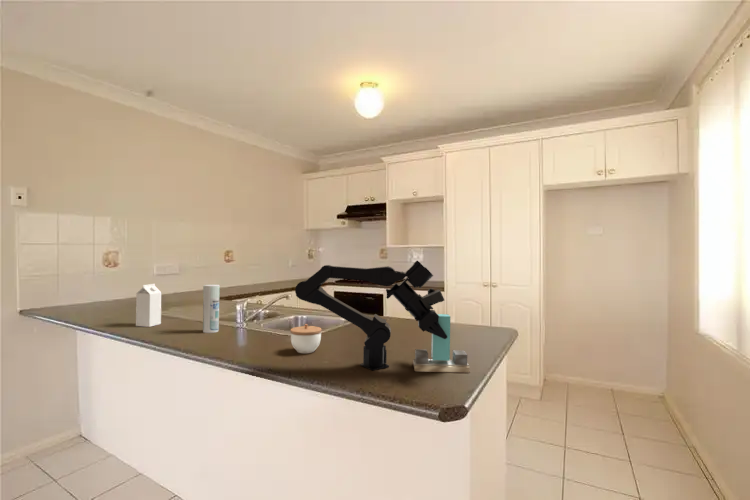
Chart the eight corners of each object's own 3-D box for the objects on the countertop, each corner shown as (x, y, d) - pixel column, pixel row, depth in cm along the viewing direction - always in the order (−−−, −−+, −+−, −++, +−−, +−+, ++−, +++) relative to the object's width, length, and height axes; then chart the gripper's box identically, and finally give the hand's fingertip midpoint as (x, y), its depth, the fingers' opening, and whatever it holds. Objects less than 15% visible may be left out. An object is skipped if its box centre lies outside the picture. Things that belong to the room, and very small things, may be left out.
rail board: (414, 371, 109) (414, 354, 109) (413, 364, 116) (413, 348, 116) (469, 372, 108) (469, 355, 108) (464, 365, 115) (465, 349, 115)
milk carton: (135, 326, 168) (136, 284, 169) (147, 323, 175) (148, 283, 176) (149, 327, 167) (150, 285, 167) (161, 324, 174) (161, 283, 174)
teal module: (432, 360, 110) (433, 315, 110) (431, 356, 114) (432, 313, 115) (449, 360, 109) (450, 316, 110) (447, 356, 114) (448, 314, 114)
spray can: (208, 329, 163) (209, 284, 164) (222, 330, 162) (222, 284, 162) (199, 332, 157) (199, 285, 157) (212, 333, 156) (213, 285, 156)
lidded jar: (327, 350, 131) (327, 323, 131) (305, 357, 122) (305, 328, 122) (306, 345, 137) (306, 320, 137) (283, 351, 128) (284, 324, 129)
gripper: (431, 283, 103) (471, 323, 102) (425, 278, 122) (459, 312, 121) (402, 310, 103) (441, 351, 103) (401, 301, 122) (434, 336, 121)
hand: (445, 336), depth 112 cm, fingers closed on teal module, 4 cm apart
